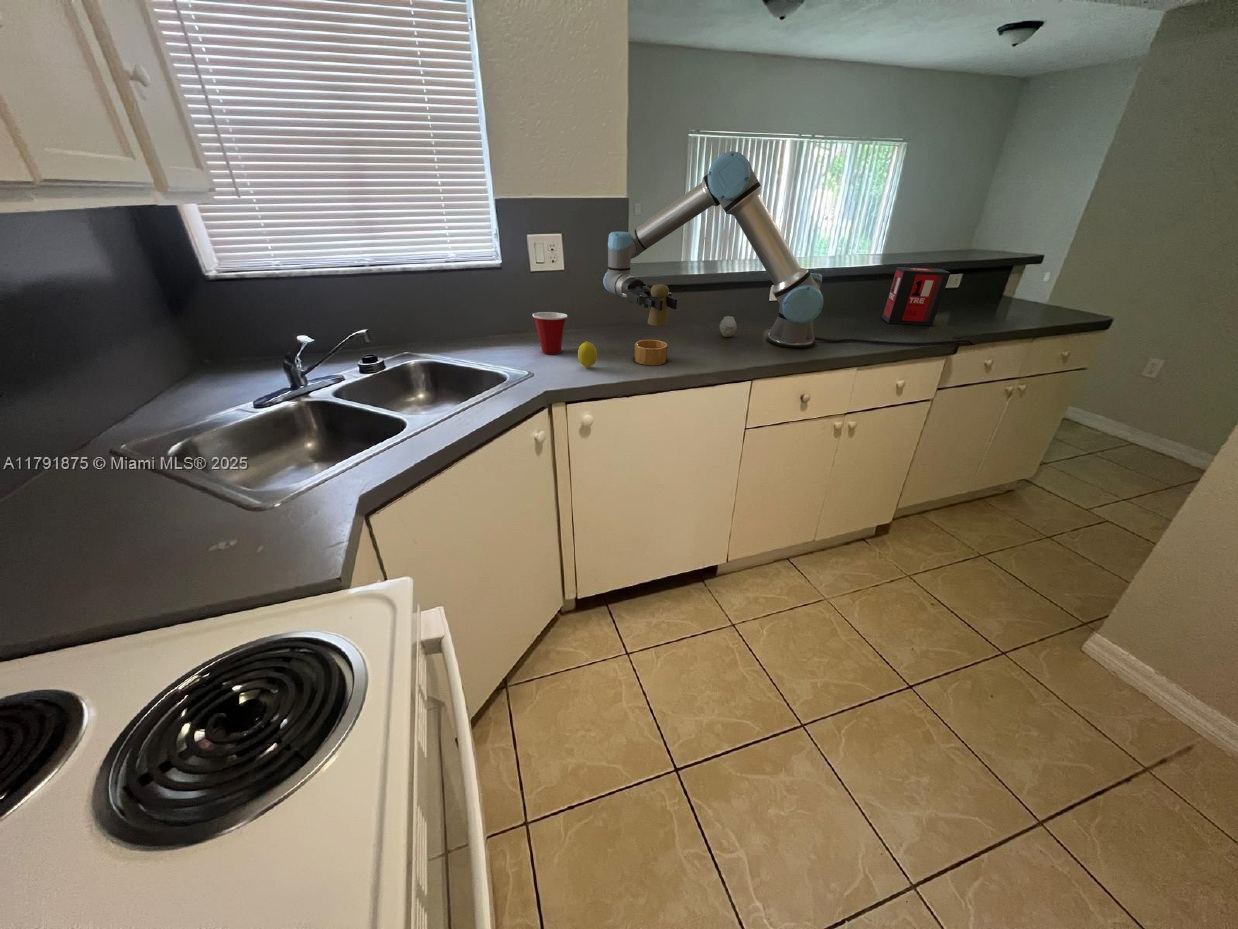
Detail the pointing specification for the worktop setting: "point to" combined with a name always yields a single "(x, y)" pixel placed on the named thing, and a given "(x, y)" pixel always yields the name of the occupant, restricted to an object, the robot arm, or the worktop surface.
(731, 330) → the crumpled white ball
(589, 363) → the lemon
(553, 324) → the plastic cup
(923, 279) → the cleaning product box
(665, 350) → the wooden cup
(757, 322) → the worktop surface
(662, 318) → the wooden peg doll
